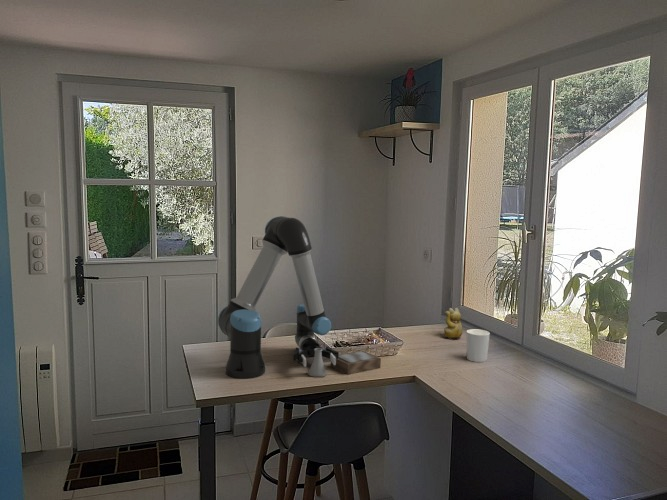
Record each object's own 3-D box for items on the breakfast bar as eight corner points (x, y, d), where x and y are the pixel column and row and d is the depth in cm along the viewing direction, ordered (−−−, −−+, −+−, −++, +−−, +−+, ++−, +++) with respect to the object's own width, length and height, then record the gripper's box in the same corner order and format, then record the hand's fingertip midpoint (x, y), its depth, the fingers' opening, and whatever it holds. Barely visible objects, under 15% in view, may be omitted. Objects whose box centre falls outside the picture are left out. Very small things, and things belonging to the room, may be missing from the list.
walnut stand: (347, 374, 210) (348, 363, 210) (330, 366, 220) (331, 355, 220) (380, 368, 219) (380, 357, 219) (362, 360, 229) (363, 350, 228)
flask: (328, 372, 213) (328, 347, 212) (326, 378, 206) (326, 352, 205) (309, 371, 214) (310, 346, 213) (307, 377, 206) (307, 351, 205)
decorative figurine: (453, 335, 274) (454, 305, 273) (466, 338, 268) (468, 308, 267) (440, 337, 268) (442, 308, 267) (454, 341, 262) (455, 311, 260)
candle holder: (493, 361, 231) (494, 333, 230) (474, 363, 228) (475, 335, 226) (479, 355, 240) (480, 328, 239) (460, 357, 237) (461, 330, 236)
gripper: (336, 353, 230) (349, 370, 208) (281, 356, 224) (289, 373, 203) (336, 336, 229) (350, 351, 207) (281, 338, 223) (289, 354, 202)
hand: (320, 362), depth 205 cm, fingers open, 11 cm apart
